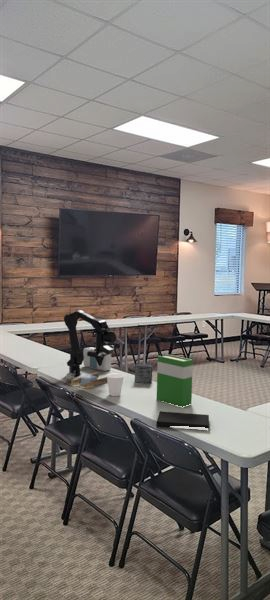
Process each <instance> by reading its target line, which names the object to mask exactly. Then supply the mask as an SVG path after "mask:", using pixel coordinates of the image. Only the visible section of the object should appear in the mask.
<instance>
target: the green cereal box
mask: <svg viewBox="0 0 270 600" xmlns="http://www.w3.org/2000/svg"><path fill="white" fill-rule="evenodd" d="M193 361H194V359H191V358H187V357H181V356H178V355H173V354H168V353H166V354H165V355H163V356H161V355H158V356H157V365H156V366H157V371H156V376H157V377H156V401H158V400H160V401H159V402H161V401H164V402H167V403H171V404H174V405H178V406H182V407H183V406H186V405H189V404H191V405H192V392H193V370H194V369H193V367H194V366H193V365H194V363H193ZM164 402H163V403H164ZM167 403H166V404H167ZM171 404H170V405H171ZM174 405H173V406H174Z"/></svg>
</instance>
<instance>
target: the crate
mask: <svg viewBox="0 0 270 600" xmlns="http://www.w3.org/2000/svg"><path fill="white" fill-rule="evenodd" d="M80 377H81V383H80V385H82V384H83V386H86V383H88V382H91V381H95V380H98V378H97V377H96V376H91V375H90V374H86V375H84V376H80Z"/></svg>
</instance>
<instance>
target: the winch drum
mask: <svg viewBox="0 0 270 600" xmlns="http://www.w3.org/2000/svg"><path fill="white" fill-rule="evenodd" d="M74 375H76V374H75V371H74V374H73V373H69V372H68V373H66V375H65V376H66V377H65V378H66V379H65V380H66V381H65V382H66V383H67V384H71V380H72V379H75V376H74Z"/></svg>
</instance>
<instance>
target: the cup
mask: <svg viewBox="0 0 270 600" xmlns="http://www.w3.org/2000/svg"><path fill="white" fill-rule="evenodd" d="M105 377H107V387H108V393H109V396H110V395H111V396H110V397H114V396H116V397H120V396H121V394H122V389H123V385H124V384H123V383H124V377H125V374H122V373H118V372H117V373H114V372H113V373H108V374H106V375H105ZM119 395H120V396H119Z"/></svg>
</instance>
